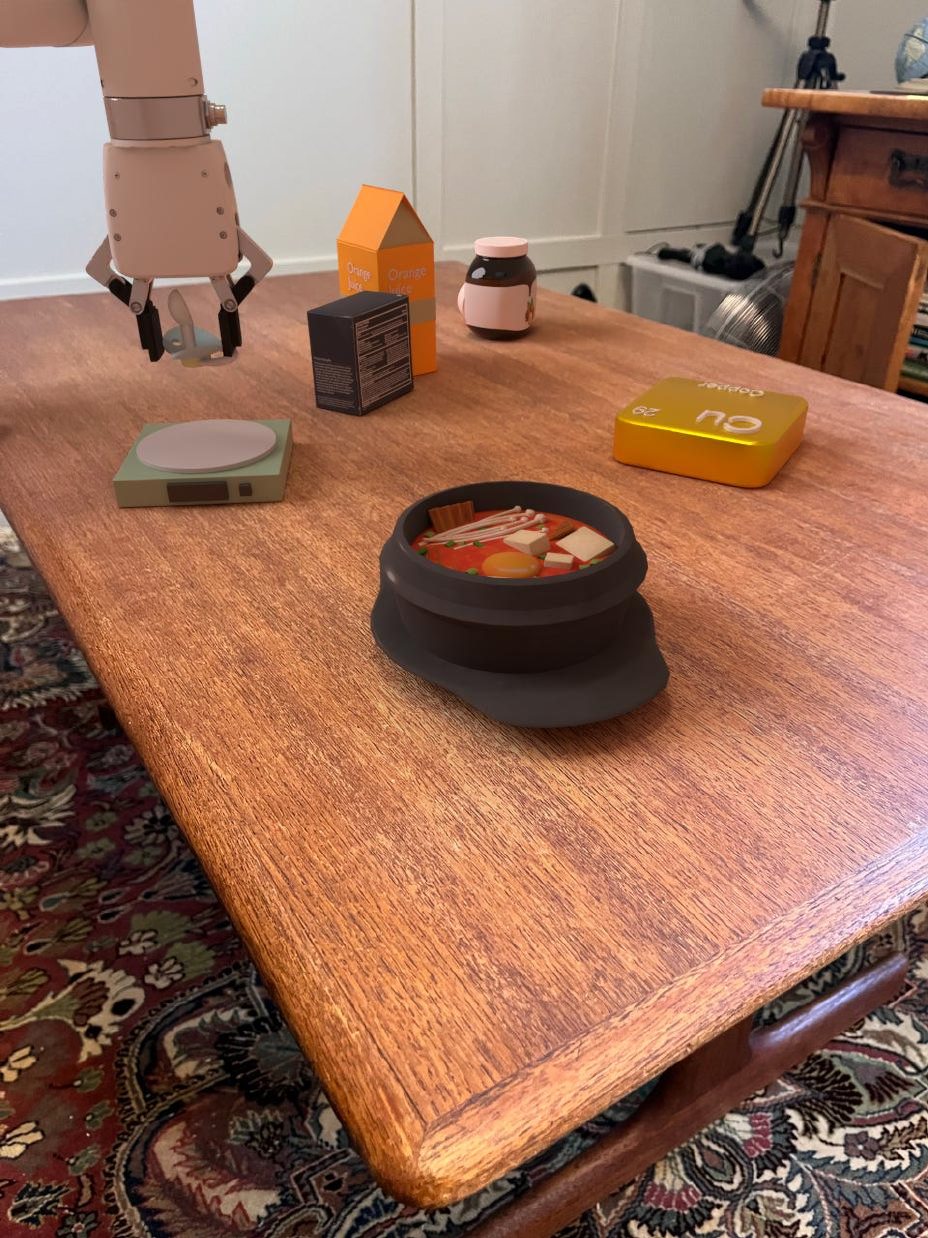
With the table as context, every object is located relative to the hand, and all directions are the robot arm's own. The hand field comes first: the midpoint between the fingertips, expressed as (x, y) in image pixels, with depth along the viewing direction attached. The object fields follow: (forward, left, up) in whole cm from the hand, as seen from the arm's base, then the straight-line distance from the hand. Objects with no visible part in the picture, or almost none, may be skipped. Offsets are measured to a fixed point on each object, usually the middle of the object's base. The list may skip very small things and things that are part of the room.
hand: (193, 354), depth 85 cm
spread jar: (+31, +47, -11) cm, 57 cm away
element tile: (+47, +1, -11) cm, 48 cm away
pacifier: (+1, 0, -1) cm, 1 cm away
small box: (+14, +20, -11) cm, 27 cm away
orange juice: (+17, +31, -11) cm, 37 cm away
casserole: (+24, -31, -11) cm, 41 cm away
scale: (0, 0, -11) cm, 11 cm away
